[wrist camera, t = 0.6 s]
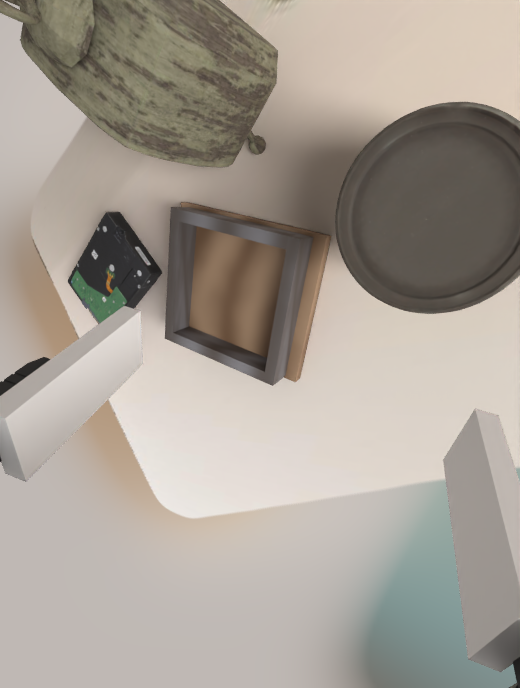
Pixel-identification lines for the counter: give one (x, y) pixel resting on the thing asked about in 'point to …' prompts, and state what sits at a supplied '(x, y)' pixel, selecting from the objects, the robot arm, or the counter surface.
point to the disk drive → (113, 269)
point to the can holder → (243, 289)
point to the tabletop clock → (155, 71)
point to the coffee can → (435, 209)
